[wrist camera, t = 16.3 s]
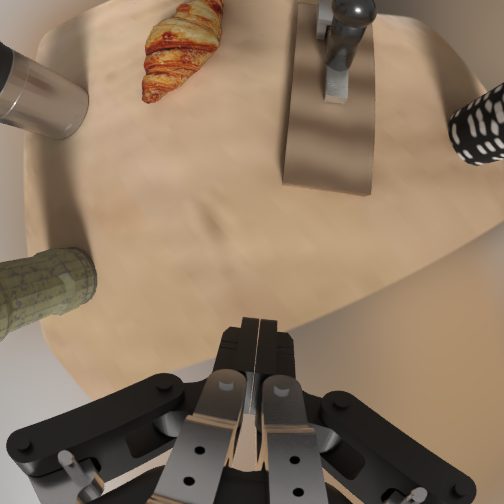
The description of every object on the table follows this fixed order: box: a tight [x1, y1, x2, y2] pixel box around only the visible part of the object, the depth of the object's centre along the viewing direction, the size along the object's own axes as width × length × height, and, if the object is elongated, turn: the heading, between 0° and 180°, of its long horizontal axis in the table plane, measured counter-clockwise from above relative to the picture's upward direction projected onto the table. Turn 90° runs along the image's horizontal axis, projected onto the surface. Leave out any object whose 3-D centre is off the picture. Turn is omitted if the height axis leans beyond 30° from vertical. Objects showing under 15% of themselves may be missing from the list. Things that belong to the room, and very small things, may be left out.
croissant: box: [142, 0, 224, 104], centre depth 32 cm, size 21×10×8 cm, turn 157°
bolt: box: [324, 0, 377, 105], centre depth 23 cm, size 12×4×14 cm, turn 174°
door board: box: [283, 0, 375, 196], centre depth 30 cm, size 26×10×8 cm, turn 174°
